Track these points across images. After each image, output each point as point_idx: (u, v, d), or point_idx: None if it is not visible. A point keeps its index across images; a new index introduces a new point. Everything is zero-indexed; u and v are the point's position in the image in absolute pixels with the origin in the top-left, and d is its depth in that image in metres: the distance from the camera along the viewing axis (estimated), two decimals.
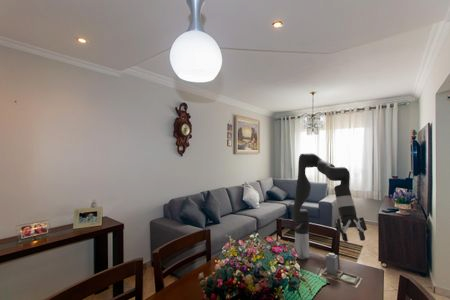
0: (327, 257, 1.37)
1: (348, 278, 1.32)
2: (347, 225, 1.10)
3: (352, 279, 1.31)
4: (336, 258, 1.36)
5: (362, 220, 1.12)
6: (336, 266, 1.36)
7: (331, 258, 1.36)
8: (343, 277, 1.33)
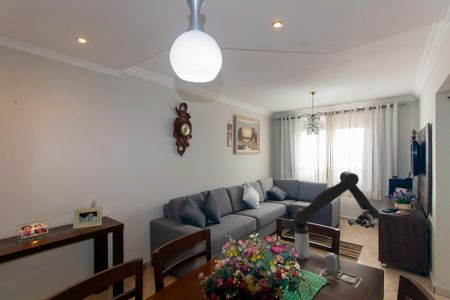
0: (327, 257, 1.37)
1: (348, 278, 1.32)
2: None
3: (352, 279, 1.31)
4: (336, 258, 1.36)
5: None
6: (336, 266, 1.36)
7: (331, 258, 1.36)
8: (343, 277, 1.33)
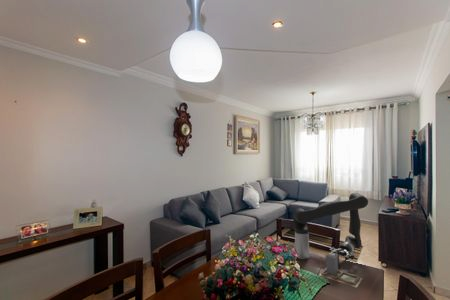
0: (327, 257, 1.37)
1: (348, 278, 1.32)
2: None
3: (352, 279, 1.31)
4: (336, 258, 1.36)
5: None
6: (336, 266, 1.36)
7: (331, 258, 1.36)
8: (343, 277, 1.33)
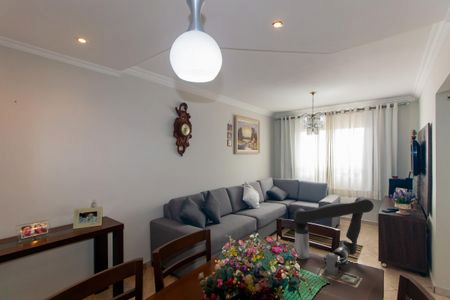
0: (327, 257, 1.37)
1: (348, 278, 1.32)
2: None
3: (352, 279, 1.31)
4: (336, 258, 1.36)
5: None
6: None
7: (331, 258, 1.36)
8: (343, 277, 1.33)
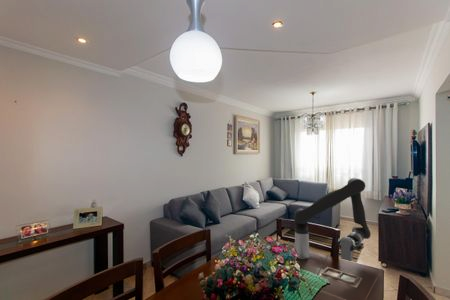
0: (342, 240, 1.32)
1: (348, 278, 1.32)
2: None
3: (352, 279, 1.31)
4: (351, 241, 1.31)
5: None
6: None
7: (346, 241, 1.30)
8: (343, 277, 1.33)
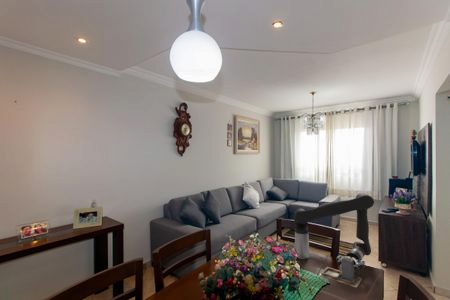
0: (342, 260, 1.31)
1: None
2: None
3: None
4: (352, 262, 1.31)
5: None
6: (352, 270, 1.30)
7: (347, 262, 1.30)
8: None
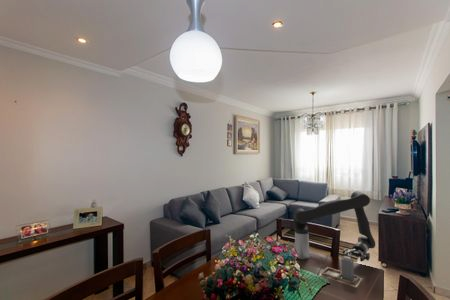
0: (342, 260, 1.31)
1: None
2: None
3: None
4: (352, 262, 1.31)
5: None
6: (352, 270, 1.30)
7: (347, 262, 1.30)
8: None
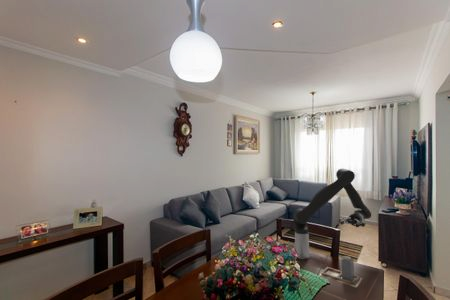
0: (342, 260, 1.31)
1: None
2: None
3: None
4: (352, 262, 1.31)
5: None
6: (352, 270, 1.30)
7: (347, 262, 1.30)
8: None
